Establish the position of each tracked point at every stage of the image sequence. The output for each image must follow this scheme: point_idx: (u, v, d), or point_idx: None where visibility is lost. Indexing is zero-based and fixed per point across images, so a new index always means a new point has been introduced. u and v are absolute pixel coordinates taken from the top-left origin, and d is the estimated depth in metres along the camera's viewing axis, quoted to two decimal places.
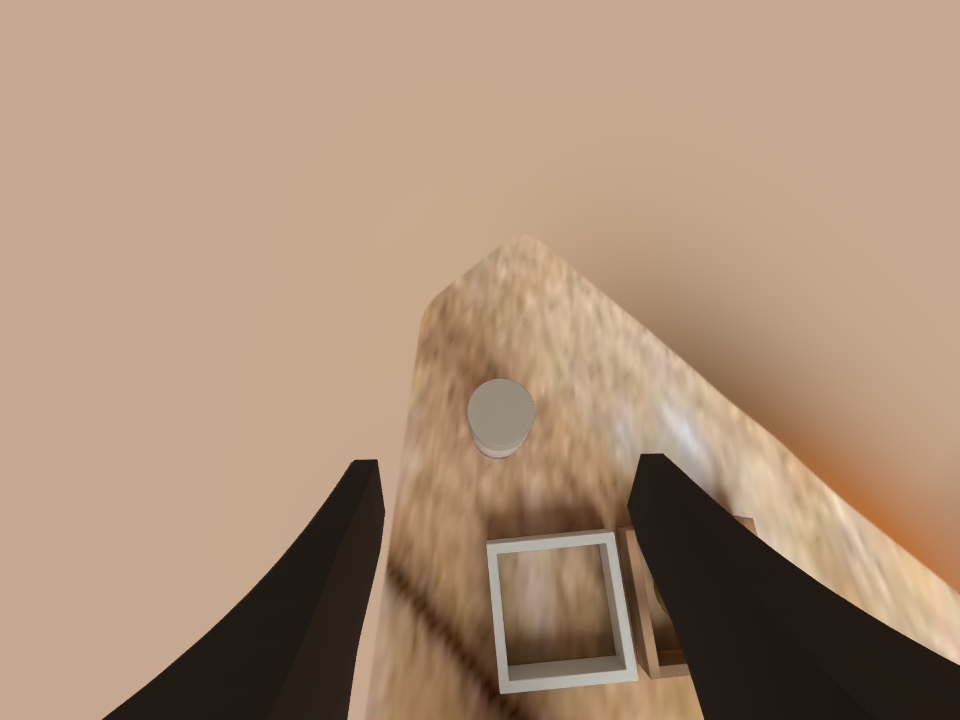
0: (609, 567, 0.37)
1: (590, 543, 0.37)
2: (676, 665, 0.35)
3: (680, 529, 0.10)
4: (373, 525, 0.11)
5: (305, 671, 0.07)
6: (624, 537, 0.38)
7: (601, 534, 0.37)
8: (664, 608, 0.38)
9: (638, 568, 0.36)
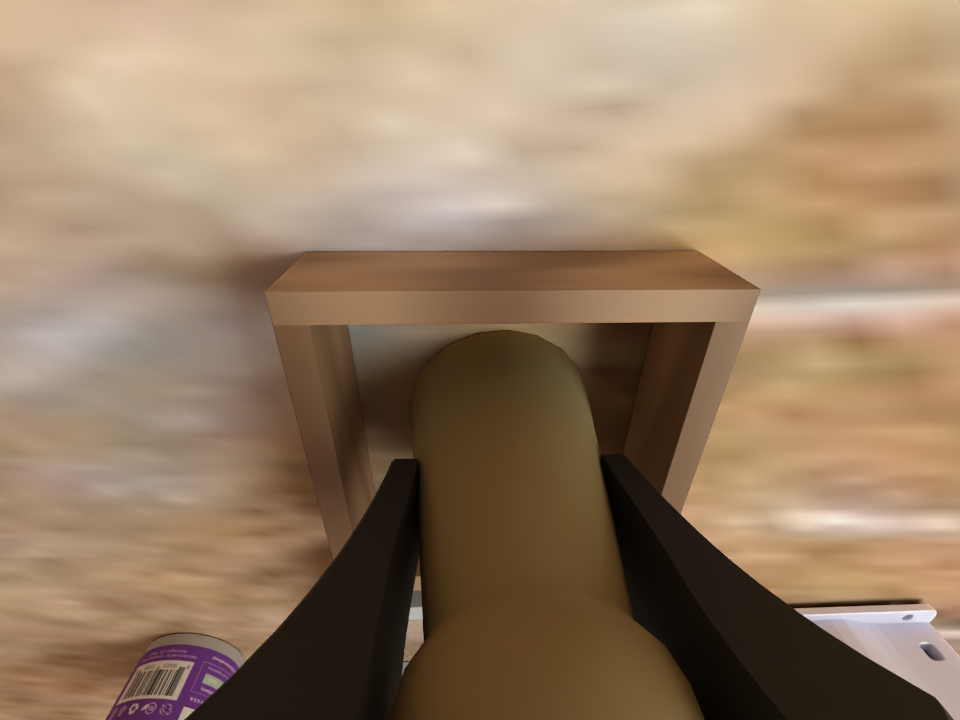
0: None
1: None
2: None
3: (633, 530, 0.10)
4: (415, 524, 0.11)
5: (375, 668, 0.07)
6: None
7: None
8: None
9: None
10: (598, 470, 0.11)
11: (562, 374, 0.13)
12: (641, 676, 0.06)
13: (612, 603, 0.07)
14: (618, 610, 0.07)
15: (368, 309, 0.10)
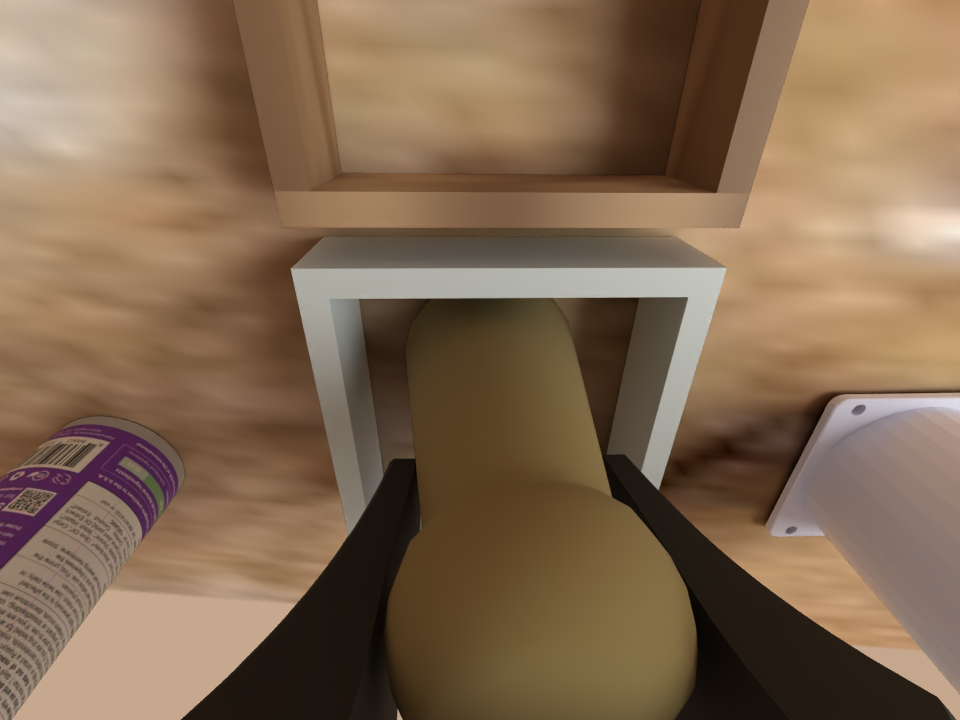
0: (404, 296, 0.11)
1: (333, 344, 0.12)
2: (736, 126, 0.09)
3: None
4: (414, 524, 0.11)
5: (372, 668, 0.07)
6: None
7: (303, 308, 0.11)
8: None
9: (409, 204, 0.10)
10: (587, 400, 0.11)
11: (555, 319, 0.13)
12: (633, 533, 0.07)
13: None
14: None
15: None
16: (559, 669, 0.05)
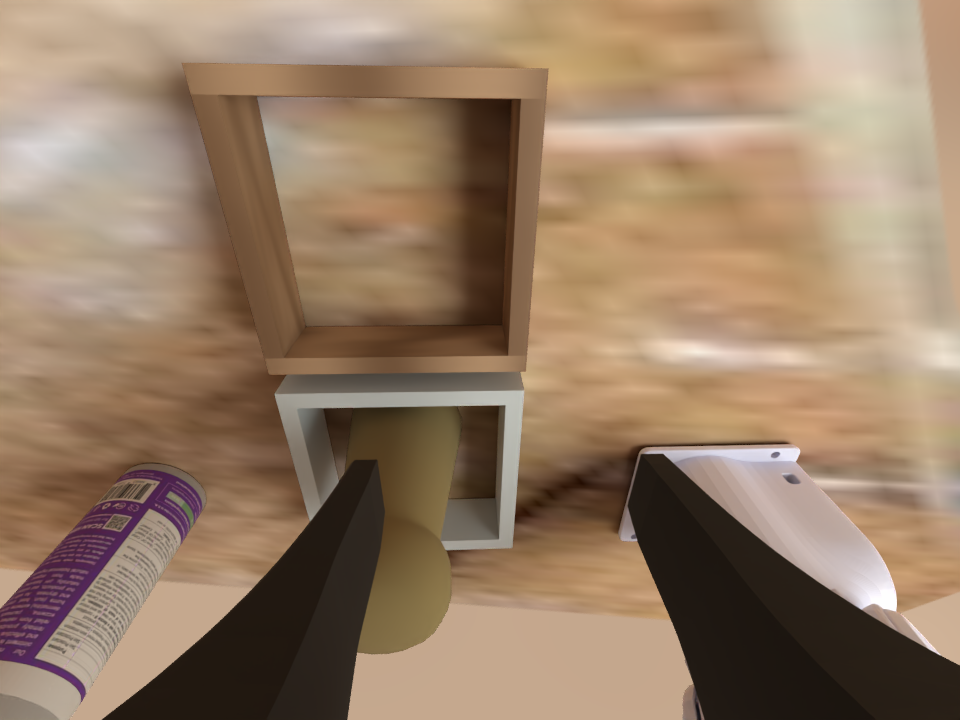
0: (340, 406, 0.20)
1: (300, 431, 0.20)
2: (510, 326, 0.18)
3: (680, 529, 0.10)
4: (373, 525, 0.11)
5: (305, 671, 0.07)
6: None
7: (281, 413, 0.20)
8: None
9: (338, 363, 0.18)
10: (443, 464, 0.20)
11: (438, 409, 0.22)
12: (415, 542, 0.15)
13: (421, 522, 0.17)
14: (421, 524, 0.16)
15: (259, 81, 0.13)
16: None
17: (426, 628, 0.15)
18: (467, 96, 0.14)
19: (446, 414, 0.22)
